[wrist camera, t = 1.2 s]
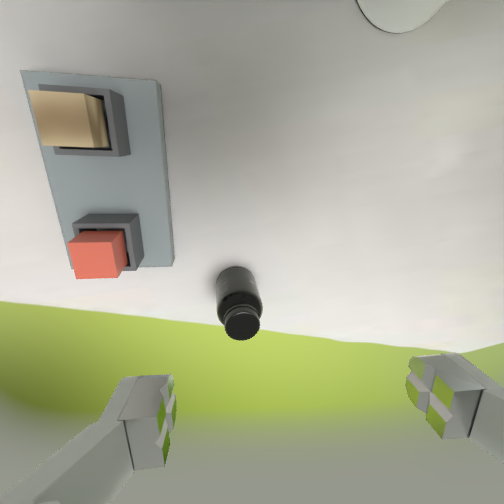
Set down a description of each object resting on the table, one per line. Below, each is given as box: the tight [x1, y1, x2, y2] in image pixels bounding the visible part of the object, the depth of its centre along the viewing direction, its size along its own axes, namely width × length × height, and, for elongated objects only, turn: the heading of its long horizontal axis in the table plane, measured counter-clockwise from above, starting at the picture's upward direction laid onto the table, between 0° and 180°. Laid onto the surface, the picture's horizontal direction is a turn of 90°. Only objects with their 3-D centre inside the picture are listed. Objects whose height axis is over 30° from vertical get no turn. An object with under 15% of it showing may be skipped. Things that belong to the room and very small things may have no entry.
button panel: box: [20, 70, 175, 271], centre depth 33 cm, size 24×14×8 cm, turn 178°
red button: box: [67, 231, 128, 279], centre depth 30 cm, size 4×4×4 cm
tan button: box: [28, 90, 109, 147], centre depth 25 cm, size 4×4×4 cm
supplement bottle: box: [216, 267, 263, 340], centre depth 40 cm, size 7×7×12 cm
